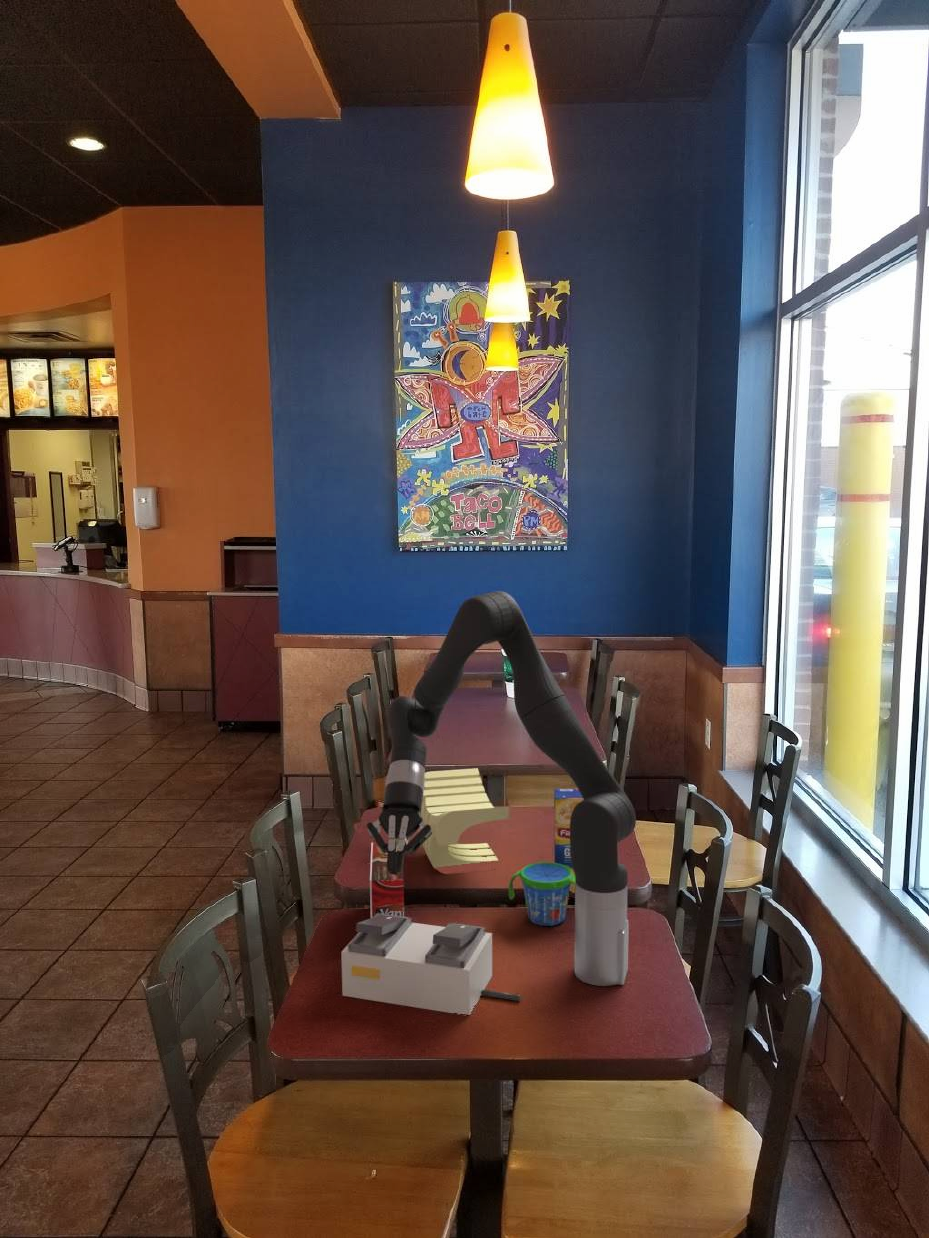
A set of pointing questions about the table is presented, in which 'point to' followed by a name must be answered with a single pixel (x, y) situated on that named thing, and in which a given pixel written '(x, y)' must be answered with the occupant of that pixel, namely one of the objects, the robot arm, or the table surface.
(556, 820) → the beverage box
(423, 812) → the slatted curved stool
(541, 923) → the snack cup
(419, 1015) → the table surface
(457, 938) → the rocker plain
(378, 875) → the ice cream box
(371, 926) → the rocker dark gray
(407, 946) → the switch box
